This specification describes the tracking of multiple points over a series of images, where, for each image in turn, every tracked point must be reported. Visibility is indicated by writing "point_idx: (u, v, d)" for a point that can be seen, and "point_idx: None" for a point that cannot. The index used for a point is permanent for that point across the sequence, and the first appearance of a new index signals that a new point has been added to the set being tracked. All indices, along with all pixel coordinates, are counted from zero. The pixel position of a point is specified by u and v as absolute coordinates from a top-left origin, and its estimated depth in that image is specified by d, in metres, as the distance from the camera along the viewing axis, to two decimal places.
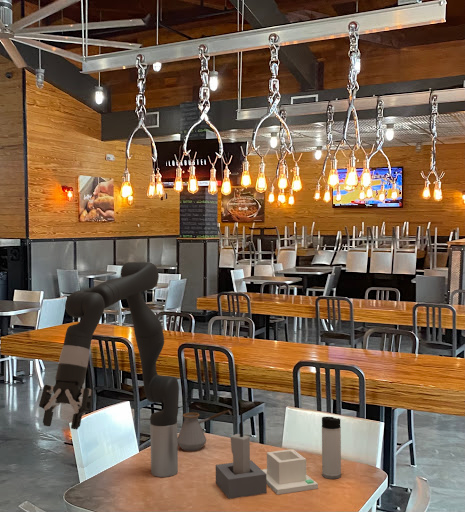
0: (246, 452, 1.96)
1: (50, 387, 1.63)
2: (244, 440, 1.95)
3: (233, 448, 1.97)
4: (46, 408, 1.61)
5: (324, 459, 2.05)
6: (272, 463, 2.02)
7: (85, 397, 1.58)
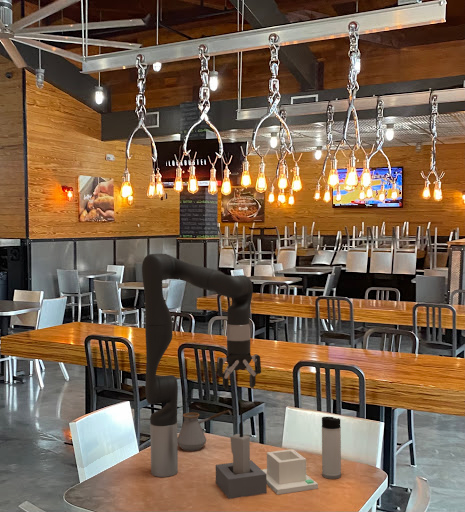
0: (246, 452, 1.96)
1: (223, 359, 1.95)
2: (244, 440, 1.95)
3: (233, 448, 1.97)
4: (226, 377, 1.94)
5: (324, 459, 2.05)
6: (272, 463, 2.02)
7: (259, 362, 1.98)
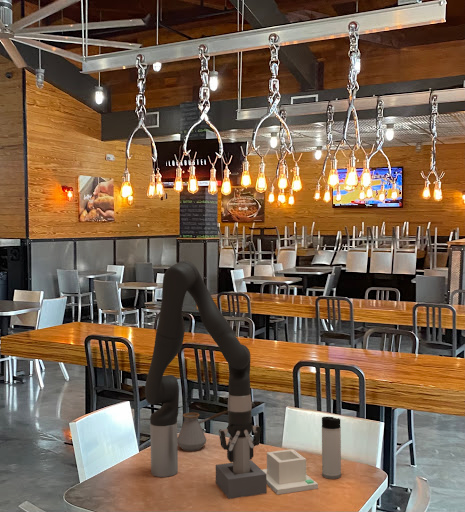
0: (246, 452, 1.96)
1: (224, 431, 1.95)
2: (244, 440, 1.95)
3: (233, 448, 1.97)
4: (231, 449, 1.95)
5: (324, 459, 2.05)
6: (272, 463, 2.02)
7: (259, 434, 1.98)
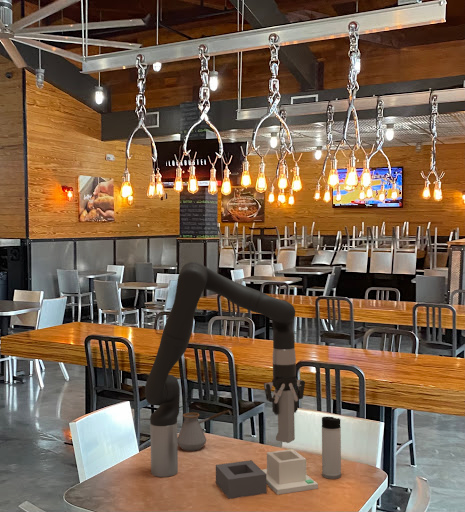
0: (291, 405, 2.00)
1: (270, 384, 2.00)
2: (289, 393, 1.99)
3: (278, 401, 2.01)
4: (276, 401, 1.99)
5: (324, 459, 2.05)
6: (272, 463, 2.02)
7: (303, 388, 2.02)
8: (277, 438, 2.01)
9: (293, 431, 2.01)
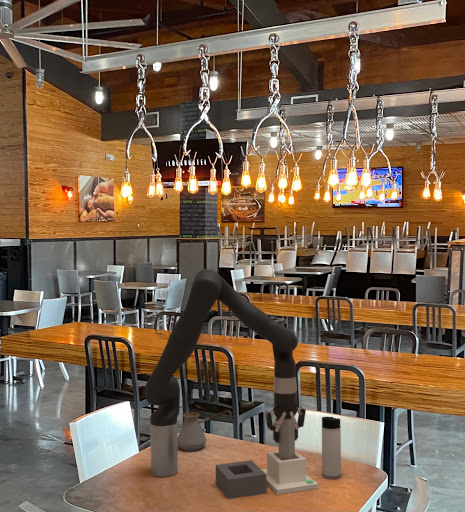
0: (291, 433, 2.01)
1: (271, 413, 2.00)
2: (290, 421, 2.00)
3: (279, 429, 2.02)
4: (277, 430, 2.00)
5: (324, 459, 2.05)
6: (272, 463, 2.02)
7: (303, 416, 2.03)
8: None
9: None
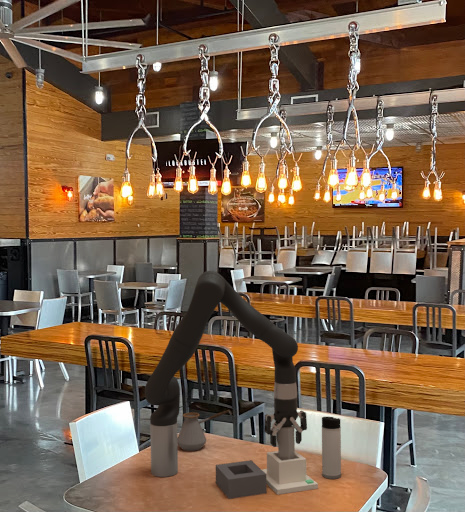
0: (291, 442, 2.01)
1: (271, 417, 2.00)
2: (289, 430, 2.00)
3: (278, 438, 2.02)
4: (274, 434, 2.00)
5: (324, 459, 2.05)
6: (272, 463, 2.02)
7: (305, 419, 2.03)
8: None
9: None
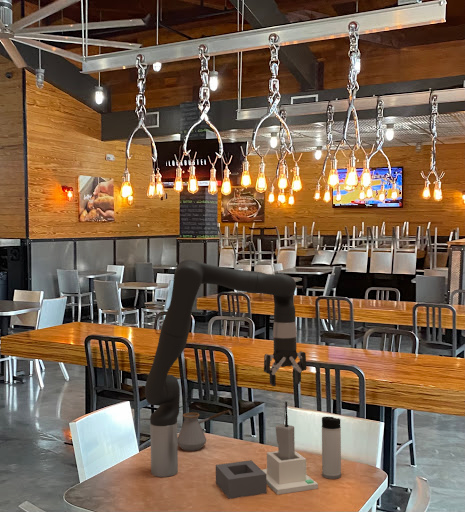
0: (291, 442, 2.01)
1: (270, 356, 2.00)
2: (289, 430, 2.00)
3: (278, 438, 2.02)
4: (273, 373, 2.00)
5: (324, 459, 2.05)
6: (272, 463, 2.02)
7: (304, 359, 2.03)
8: None
9: None
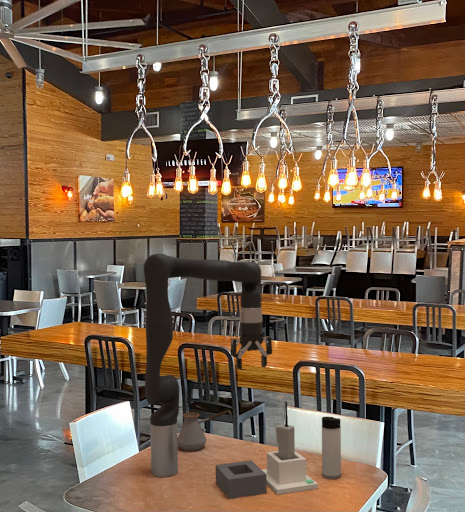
0: (291, 442, 2.01)
1: (237, 340, 2.07)
2: (289, 430, 2.00)
3: (278, 438, 2.02)
4: (240, 357, 2.06)
5: (324, 459, 2.05)
6: (272, 463, 2.02)
7: (270, 344, 2.10)
8: None
9: None
